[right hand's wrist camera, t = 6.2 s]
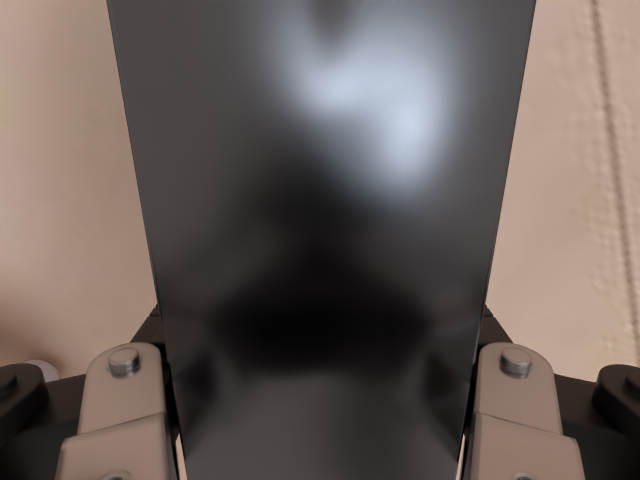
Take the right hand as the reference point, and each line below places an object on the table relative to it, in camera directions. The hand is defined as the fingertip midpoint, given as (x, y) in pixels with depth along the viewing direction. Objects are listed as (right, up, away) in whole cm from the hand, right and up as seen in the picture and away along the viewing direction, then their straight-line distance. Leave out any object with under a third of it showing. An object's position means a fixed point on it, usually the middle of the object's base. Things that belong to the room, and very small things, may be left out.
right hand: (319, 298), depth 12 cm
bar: (0, +9, +1) cm, 9 cm away
